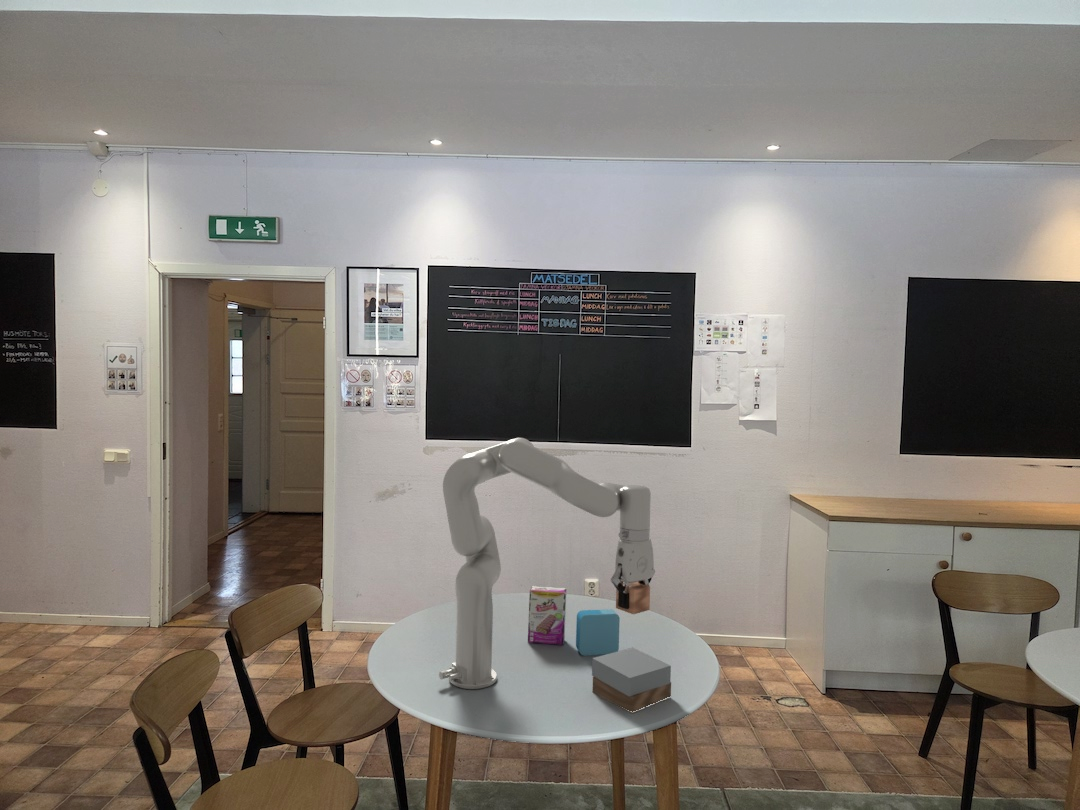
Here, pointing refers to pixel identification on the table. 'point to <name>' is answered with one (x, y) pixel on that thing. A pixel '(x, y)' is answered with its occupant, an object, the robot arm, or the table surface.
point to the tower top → (631, 671)
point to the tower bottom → (632, 701)
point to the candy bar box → (547, 615)
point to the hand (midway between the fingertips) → (632, 604)
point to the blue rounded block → (597, 632)
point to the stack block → (636, 598)
